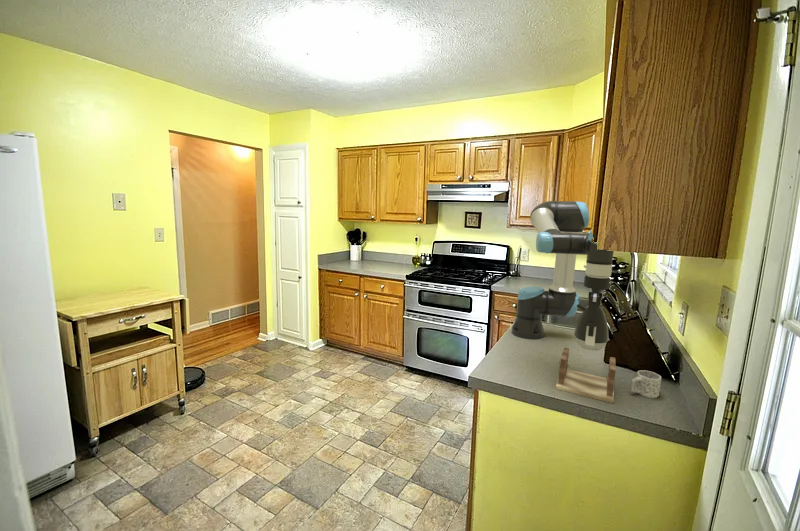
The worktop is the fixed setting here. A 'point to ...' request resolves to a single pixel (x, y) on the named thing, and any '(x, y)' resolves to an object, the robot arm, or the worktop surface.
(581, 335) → the pump dispenser
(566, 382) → the caddy
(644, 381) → the mug
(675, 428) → the worktop surface
